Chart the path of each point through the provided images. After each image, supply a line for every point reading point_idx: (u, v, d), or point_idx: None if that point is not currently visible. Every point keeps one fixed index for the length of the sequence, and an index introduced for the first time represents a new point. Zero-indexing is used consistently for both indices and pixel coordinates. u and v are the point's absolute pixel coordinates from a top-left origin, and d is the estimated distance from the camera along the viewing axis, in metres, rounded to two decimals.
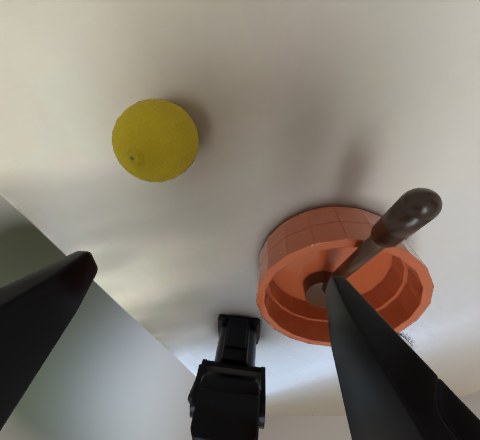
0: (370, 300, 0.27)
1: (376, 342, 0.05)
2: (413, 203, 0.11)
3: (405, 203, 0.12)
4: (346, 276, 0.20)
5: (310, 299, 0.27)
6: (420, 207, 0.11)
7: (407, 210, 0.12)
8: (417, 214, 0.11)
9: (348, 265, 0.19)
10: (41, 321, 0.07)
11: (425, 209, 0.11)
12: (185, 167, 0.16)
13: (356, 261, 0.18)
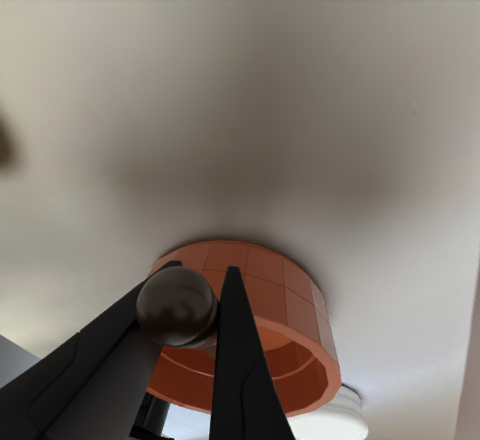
0: (290, 355, 0.20)
1: (226, 324, 0.06)
2: (137, 310, 0.05)
3: None
4: None
5: (212, 355, 0.20)
6: (143, 323, 0.05)
7: None
8: None
9: None
10: None
11: (150, 330, 0.05)
12: None
13: None
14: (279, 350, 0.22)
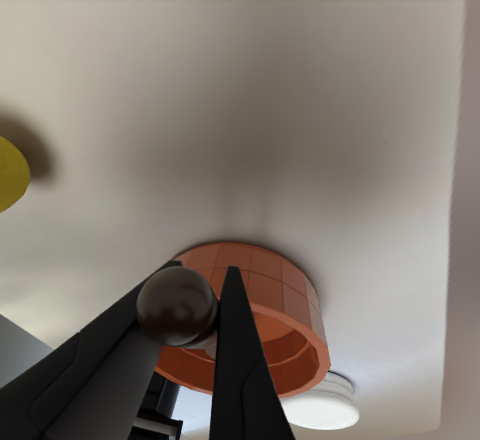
0: (287, 344, 0.23)
1: (226, 324, 0.06)
2: (137, 310, 0.05)
3: None
4: None
5: (212, 355, 0.20)
6: (143, 323, 0.05)
7: None
8: None
9: None
10: None
11: (151, 330, 0.05)
12: None
13: None
14: (278, 340, 0.24)
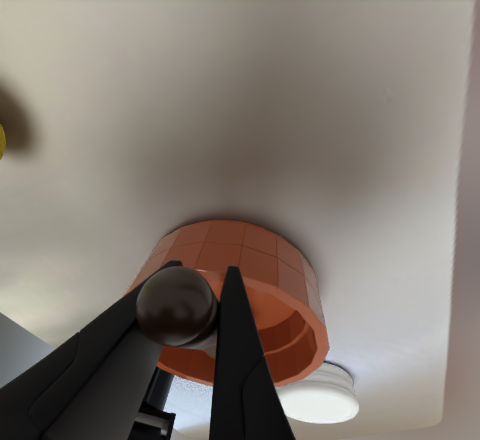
0: (284, 331, 0.22)
1: (226, 324, 0.06)
2: (137, 310, 0.05)
3: None
4: None
5: (212, 354, 0.20)
6: (143, 323, 0.05)
7: None
8: None
9: None
10: None
11: (150, 330, 0.05)
12: None
13: None
14: (274, 328, 0.23)
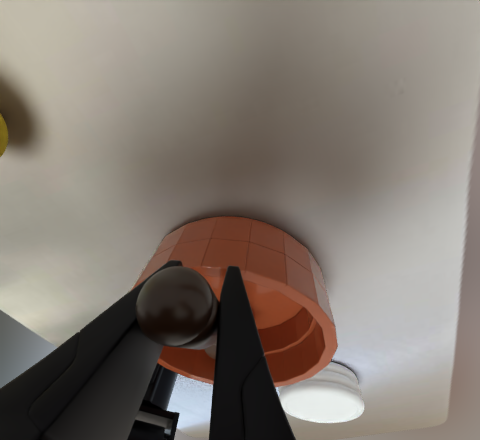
0: (289, 330, 0.22)
1: (226, 324, 0.06)
2: (137, 310, 0.05)
3: None
4: None
5: (212, 355, 0.20)
6: (143, 323, 0.05)
7: None
8: None
9: None
10: None
11: (150, 330, 0.05)
12: None
13: None
14: (279, 326, 0.23)
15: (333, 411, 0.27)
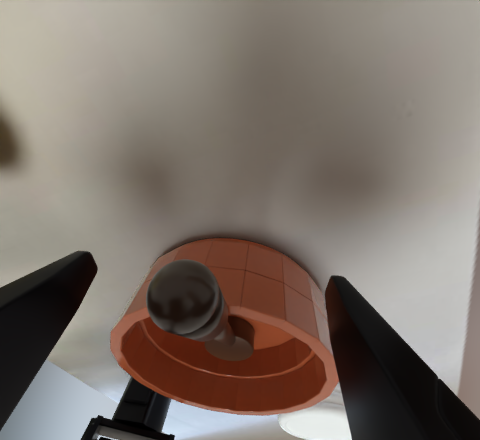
0: (289, 352, 0.21)
1: (376, 342, 0.05)
2: (147, 300, 0.05)
3: (147, 294, 0.06)
4: (221, 342, 0.14)
5: (213, 352, 0.21)
6: (153, 312, 0.05)
7: None
8: None
9: None
10: (41, 321, 0.07)
11: (160, 318, 0.05)
12: None
13: None
14: (278, 347, 0.22)
15: (334, 431, 0.27)
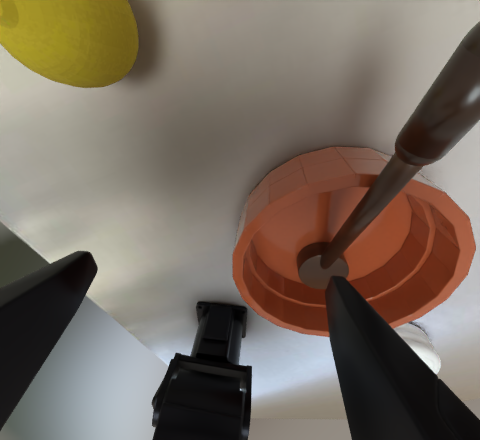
0: (380, 278, 0.21)
1: (376, 342, 0.05)
2: None
3: (476, 38, 0.06)
4: (352, 237, 0.15)
5: (305, 278, 0.21)
6: None
7: None
8: None
9: (356, 217, 0.13)
10: (41, 321, 0.07)
11: None
12: (109, 59, 0.11)
13: (368, 207, 0.12)
14: (364, 278, 0.22)
15: None
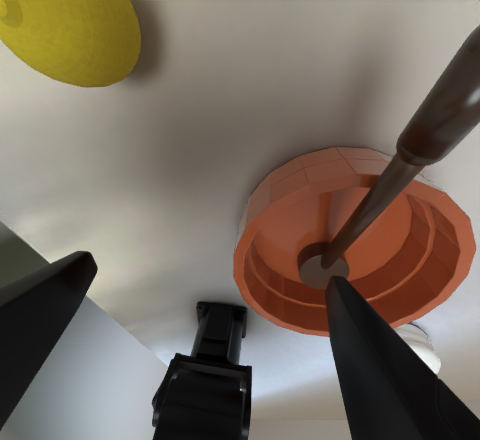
0: (380, 279, 0.21)
1: (376, 342, 0.05)
2: None
3: (478, 40, 0.06)
4: (353, 237, 0.15)
5: (305, 278, 0.21)
6: None
7: None
8: None
9: (357, 217, 0.13)
10: (41, 321, 0.07)
11: None
12: (112, 58, 0.11)
13: (370, 207, 0.12)
14: (365, 278, 0.22)
15: None
